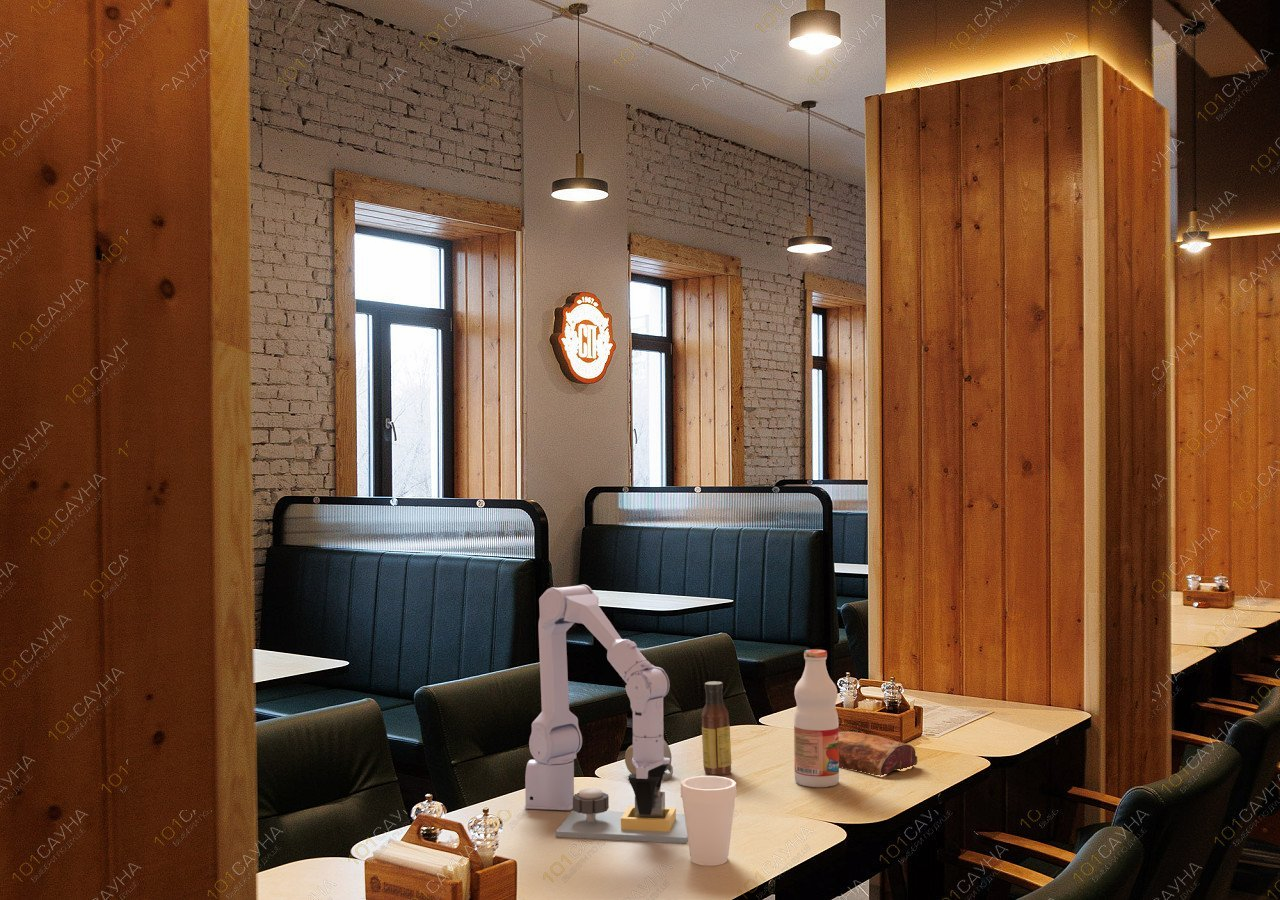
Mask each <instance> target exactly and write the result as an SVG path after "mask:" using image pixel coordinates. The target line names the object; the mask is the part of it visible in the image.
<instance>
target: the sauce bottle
mask: <svg viewBox="0 0 1280 900" xmlns="http://www.w3.org/2000/svg"><path fill="white" fill-rule="evenodd" d="M723 689H724V683H723V682H722V681H715V680H713V681H707V682H705V683H704V690H705V705H704V706H703V708H702V710H701V713H700V714H701V735H702V738H701V740H702V742H701V743H702V759H703V760H702V761H703V771H704V773H705V774H707V775H710V774H711V775H710V776H723V775H724V776H725V775H729V774H730V773H731V772H732V764H733V763H732V750H731V749H732V748H731V747H732V745H731V743H732V742H731V726H730V725H731V724H730V718H729V717H730V716H729V710H728V709H727V706H726V704H725V703H724V699H723Z"/></svg>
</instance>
